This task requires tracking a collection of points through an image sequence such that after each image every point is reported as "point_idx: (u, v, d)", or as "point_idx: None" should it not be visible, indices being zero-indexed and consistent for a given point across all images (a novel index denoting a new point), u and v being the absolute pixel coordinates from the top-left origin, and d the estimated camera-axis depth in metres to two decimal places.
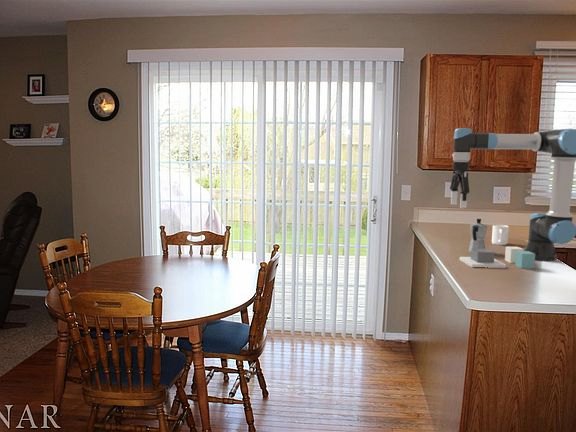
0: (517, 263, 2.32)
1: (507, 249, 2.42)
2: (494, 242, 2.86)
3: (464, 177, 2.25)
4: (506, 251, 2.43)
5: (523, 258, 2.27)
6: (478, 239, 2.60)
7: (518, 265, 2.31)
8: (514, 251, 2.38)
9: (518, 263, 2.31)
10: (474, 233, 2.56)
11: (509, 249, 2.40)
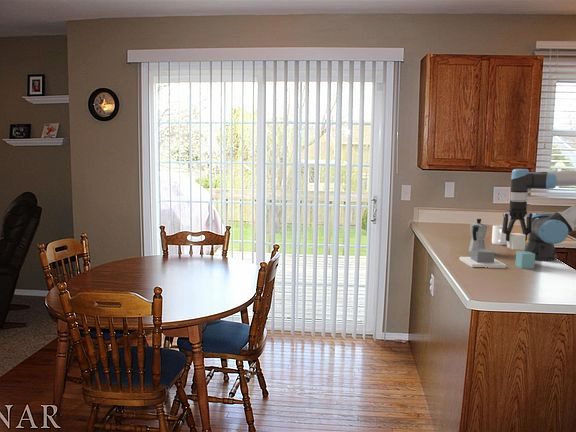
0: (517, 263, 2.32)
1: None
2: (494, 242, 2.86)
3: (504, 218, 2.39)
4: None
5: (523, 258, 2.27)
6: (478, 239, 2.60)
7: (518, 265, 2.31)
8: (516, 237, 2.37)
9: (518, 263, 2.31)
10: (474, 233, 2.56)
11: None
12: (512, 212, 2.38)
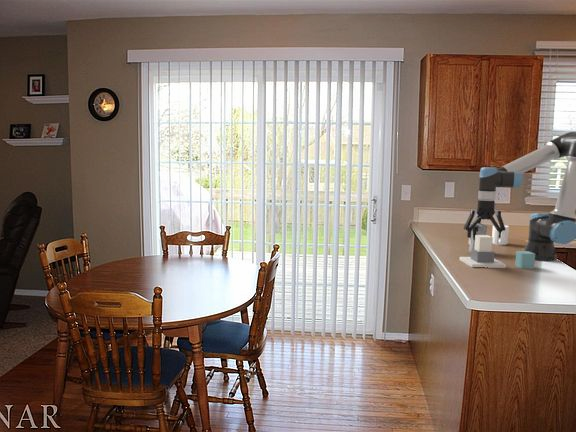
0: (517, 263, 2.32)
1: (476, 237, 2.36)
2: None
3: (470, 215, 2.33)
4: (475, 240, 2.37)
5: (523, 258, 2.27)
6: None
7: (518, 265, 2.31)
8: (483, 239, 2.32)
9: (518, 263, 2.31)
10: (474, 233, 2.56)
11: (478, 237, 2.33)
12: (480, 211, 2.32)
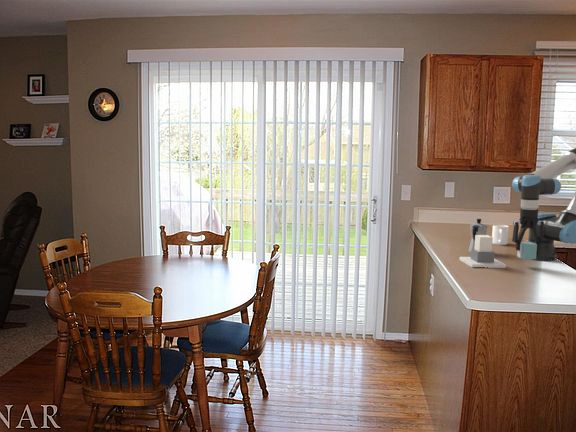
0: None
1: (476, 237, 2.36)
2: (494, 242, 2.86)
3: (514, 226, 2.29)
4: (475, 240, 2.37)
5: (525, 248, 2.27)
6: None
7: None
8: (483, 239, 2.32)
9: None
10: (474, 233, 2.56)
11: (478, 237, 2.33)
12: (523, 220, 2.27)
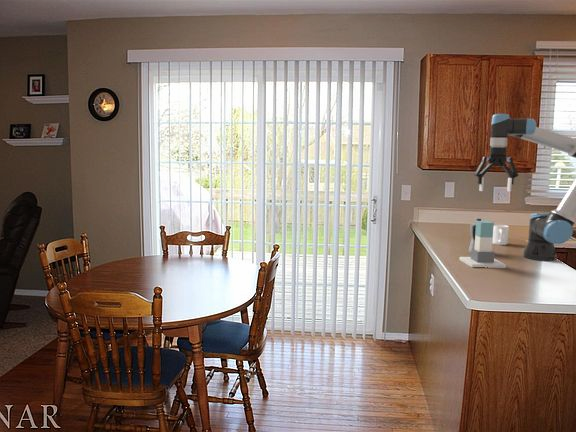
0: (477, 232, 2.35)
1: (476, 237, 2.36)
2: (494, 242, 2.86)
3: (482, 161, 2.35)
4: (475, 240, 2.37)
5: (482, 226, 2.31)
6: None
7: (477, 234, 2.34)
8: (483, 239, 2.32)
9: (477, 232, 2.34)
10: (474, 233, 2.56)
11: (478, 237, 2.33)
12: (492, 158, 2.33)
